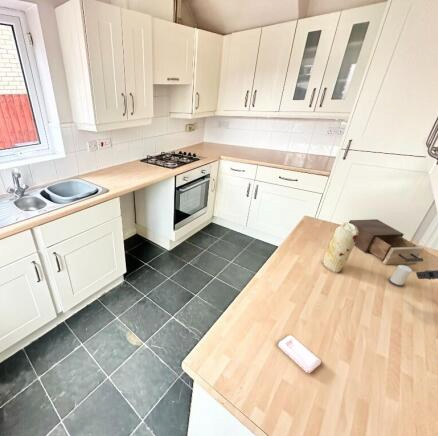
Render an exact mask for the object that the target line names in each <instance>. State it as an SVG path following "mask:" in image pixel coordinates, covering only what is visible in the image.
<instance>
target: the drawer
mask: <svg viewBox="0 0 438 436" xmlns="http://www.w3.org/2000/svg"><path fill="white" fill-rule="evenodd" d="M423 250H424V247H422V246H417V245H416V244H415V243H414V242H411V241H410V240H408V239H406V238H404V237H401V236H374V239H373V241H372V242H371V244H370V246H369V248H368V251H370V252H371V253H370V254H372V255H374V256H375V257H376V258H378V259H379V260H381V261H383V262H382V263H383V264H384V265H404V264H415V263H418V262H419V263H421V262H424V258H423V257H419V256H420V255H421V253H422V251H423Z"/></svg>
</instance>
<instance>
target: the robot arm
mask: <svg viewBox="0 0 438 436" xmlns="http://www.w3.org/2000/svg"><path fill="white" fill-rule="evenodd" d="M415 274H416V277H417V279H419V280H424V279H426V280H436V279H437V280H438V269H436V270H434V269H433V270H432V269H431V270H427V269H426V270H424V271H416V273H415Z"/></svg>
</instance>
